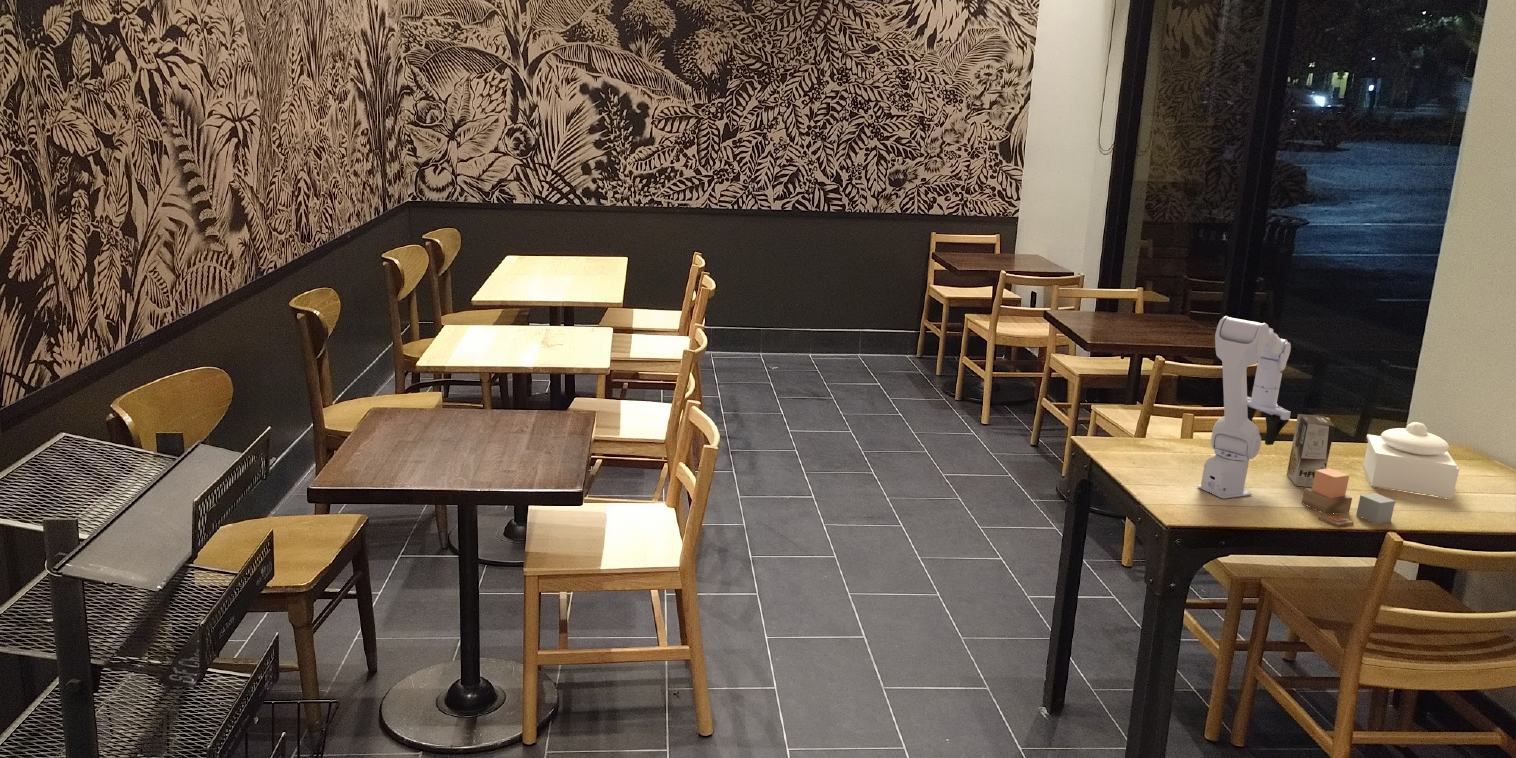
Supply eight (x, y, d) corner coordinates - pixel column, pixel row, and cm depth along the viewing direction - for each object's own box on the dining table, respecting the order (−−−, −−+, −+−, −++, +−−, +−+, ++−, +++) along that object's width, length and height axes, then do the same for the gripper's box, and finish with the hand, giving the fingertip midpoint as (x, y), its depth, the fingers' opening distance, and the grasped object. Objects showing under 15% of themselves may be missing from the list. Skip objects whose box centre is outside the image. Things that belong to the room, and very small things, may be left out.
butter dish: (1451, 501, 269) (1466, 438, 265) (1368, 487, 275) (1382, 425, 271) (1438, 479, 285) (1452, 419, 281) (1360, 466, 291) (1372, 408, 287)
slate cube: (1375, 523, 250) (1380, 503, 249) (1356, 515, 255) (1360, 495, 253) (1390, 521, 252) (1395, 500, 251) (1370, 513, 257) (1375, 493, 256)
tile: (1337, 527, 247) (1338, 523, 247) (1318, 518, 251) (1319, 515, 251) (1353, 524, 249) (1354, 521, 249) (1334, 516, 253) (1334, 512, 253)
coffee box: (1323, 489, 271) (1336, 426, 267) (1294, 486, 272) (1307, 422, 268) (1312, 477, 280) (1325, 415, 275) (1285, 473, 281) (1297, 412, 276)
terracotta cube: (1330, 498, 254) (1335, 477, 252) (1311, 490, 258) (1315, 470, 257) (1345, 495, 256) (1349, 475, 255) (1325, 488, 260) (1329, 468, 259)
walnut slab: (1324, 515, 254) (1327, 499, 253) (1301, 504, 260) (1304, 488, 259) (1348, 514, 256) (1352, 497, 255) (1325, 502, 263) (1328, 486, 262)
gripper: (1303, 393, 265) (1292, 447, 269) (1254, 377, 278) (1244, 429, 281) (1282, 395, 262) (1271, 449, 266) (1233, 378, 275) (1224, 431, 278)
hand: (1256, 439), depth 273 cm, fingers open, 7 cm apart
